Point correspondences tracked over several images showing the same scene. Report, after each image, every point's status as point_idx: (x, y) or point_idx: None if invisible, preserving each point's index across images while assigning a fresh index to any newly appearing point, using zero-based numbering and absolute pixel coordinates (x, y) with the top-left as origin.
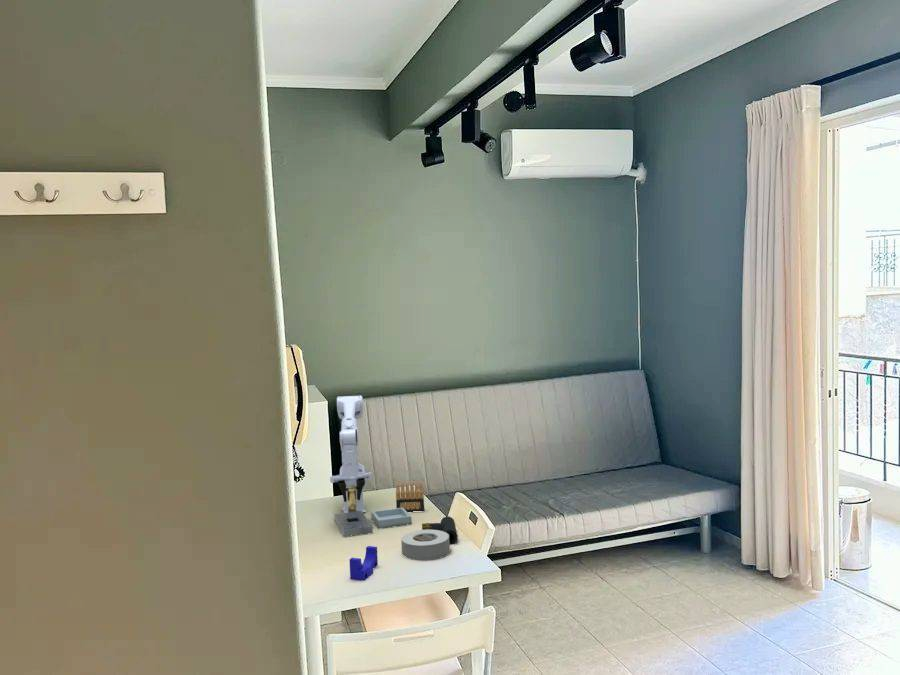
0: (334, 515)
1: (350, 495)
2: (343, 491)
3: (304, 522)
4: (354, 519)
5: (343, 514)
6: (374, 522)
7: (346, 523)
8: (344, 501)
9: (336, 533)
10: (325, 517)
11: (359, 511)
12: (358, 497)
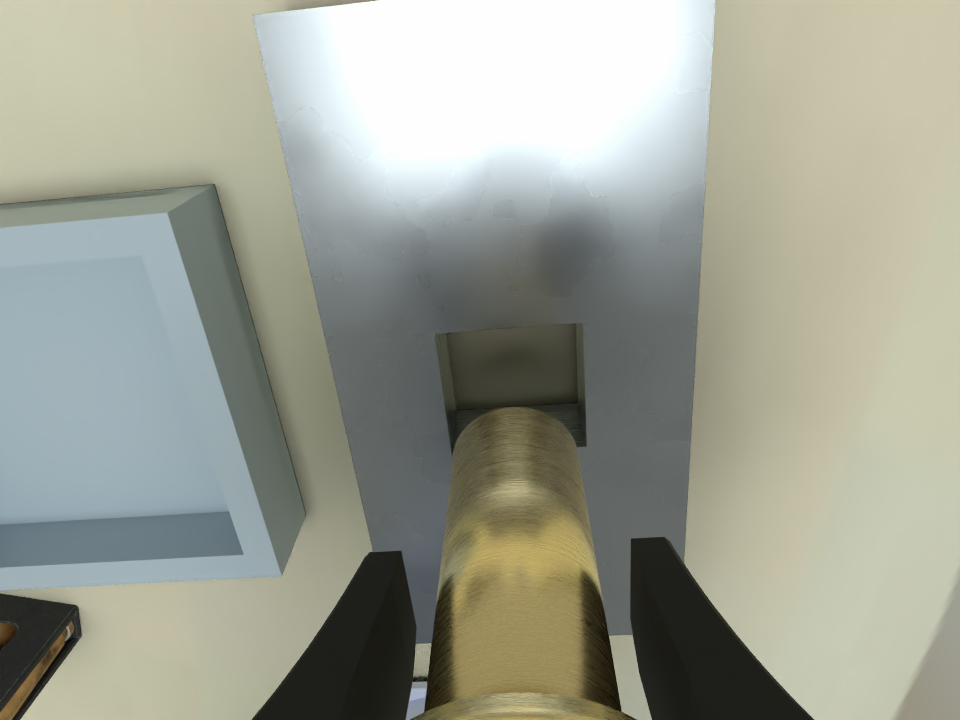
0: None
1: (559, 626)
2: (778, 716)
3: (940, 615)
4: None
5: None
6: (269, 399)
7: (613, 278)
8: (671, 552)
9: (743, 178)
10: None
11: None
12: (384, 584)
